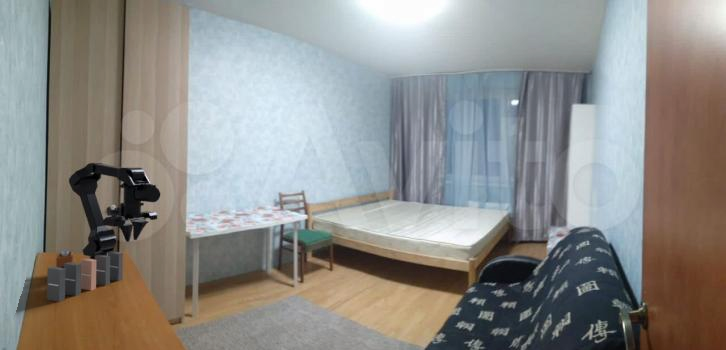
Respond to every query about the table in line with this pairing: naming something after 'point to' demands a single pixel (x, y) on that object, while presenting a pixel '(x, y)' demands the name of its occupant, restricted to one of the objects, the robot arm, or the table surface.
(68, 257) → the battery
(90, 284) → the domino
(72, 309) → the table surface
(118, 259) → the domino
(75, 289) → the domino
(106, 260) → the domino
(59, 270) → the domino
